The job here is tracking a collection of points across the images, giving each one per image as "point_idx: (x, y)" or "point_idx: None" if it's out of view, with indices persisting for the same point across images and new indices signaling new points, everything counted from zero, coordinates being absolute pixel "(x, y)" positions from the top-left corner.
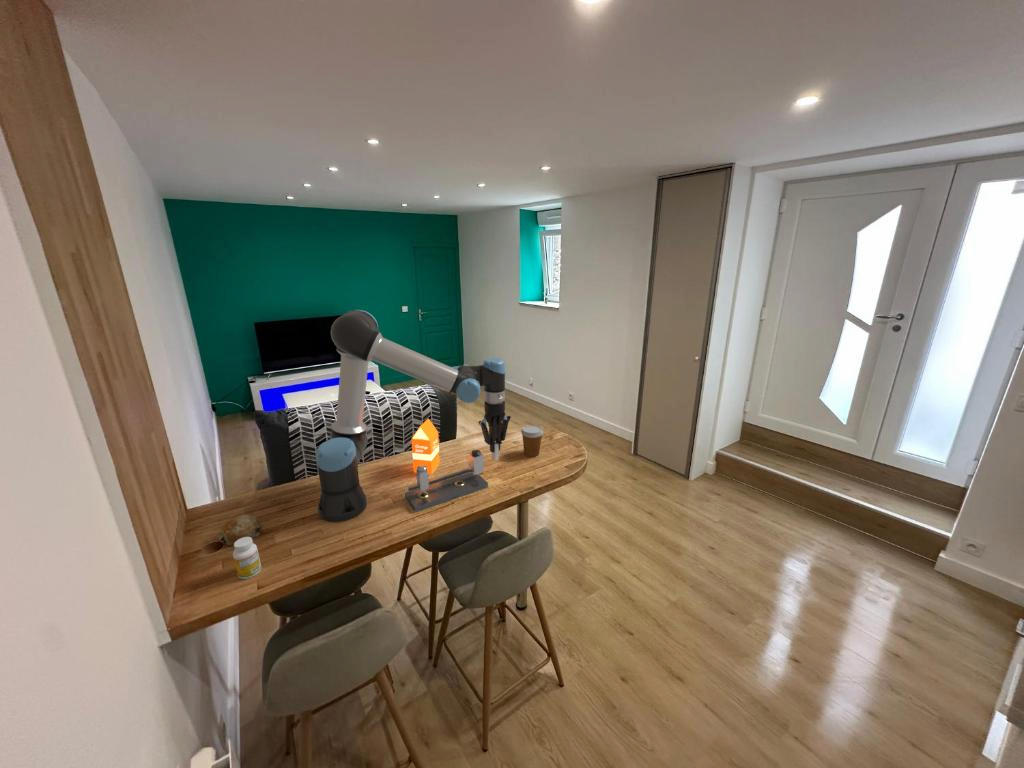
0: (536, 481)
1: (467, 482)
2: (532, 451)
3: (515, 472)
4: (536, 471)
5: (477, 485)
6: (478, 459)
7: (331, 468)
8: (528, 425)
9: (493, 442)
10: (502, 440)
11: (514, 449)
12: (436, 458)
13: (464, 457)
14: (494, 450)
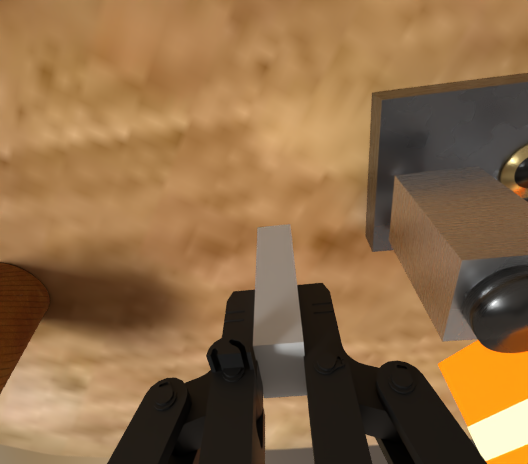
0: (31, 5)
1: (486, 162)
2: None
3: (145, 174)
4: (10, 130)
5: (462, 98)
6: (511, 234)
7: None
8: None
9: (334, 383)
10: (184, 385)
11: (89, 347)
12: (488, 388)
13: None
14: (298, 297)
